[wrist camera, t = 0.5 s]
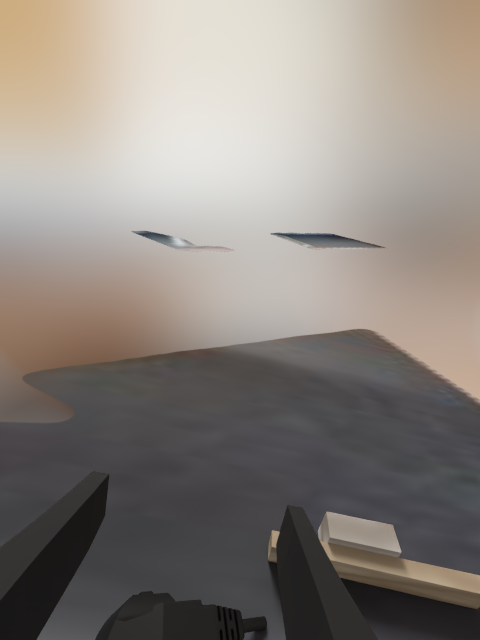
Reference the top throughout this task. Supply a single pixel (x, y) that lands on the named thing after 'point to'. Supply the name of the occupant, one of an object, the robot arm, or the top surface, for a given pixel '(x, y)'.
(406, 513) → the top surface
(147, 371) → the top surface
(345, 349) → the top surface
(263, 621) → the power plug
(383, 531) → the guide channel
